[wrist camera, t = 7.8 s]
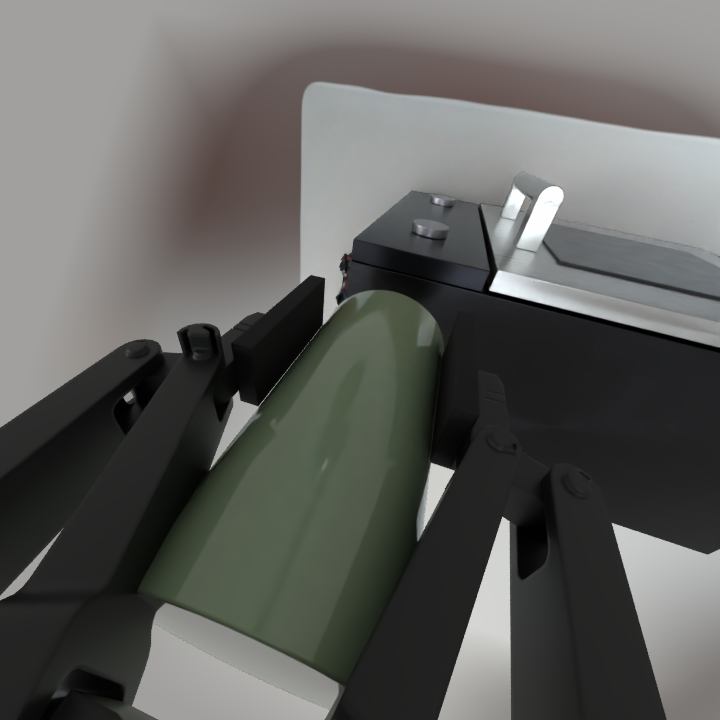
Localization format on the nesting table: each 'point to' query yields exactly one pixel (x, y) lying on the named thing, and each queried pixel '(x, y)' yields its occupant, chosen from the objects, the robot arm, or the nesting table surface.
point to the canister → (311, 505)
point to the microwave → (567, 373)
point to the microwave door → (598, 267)
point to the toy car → (344, 277)
